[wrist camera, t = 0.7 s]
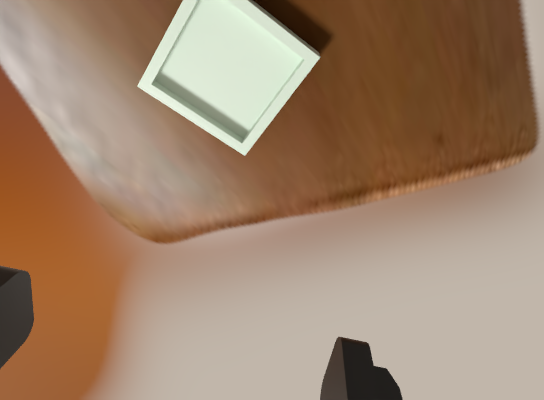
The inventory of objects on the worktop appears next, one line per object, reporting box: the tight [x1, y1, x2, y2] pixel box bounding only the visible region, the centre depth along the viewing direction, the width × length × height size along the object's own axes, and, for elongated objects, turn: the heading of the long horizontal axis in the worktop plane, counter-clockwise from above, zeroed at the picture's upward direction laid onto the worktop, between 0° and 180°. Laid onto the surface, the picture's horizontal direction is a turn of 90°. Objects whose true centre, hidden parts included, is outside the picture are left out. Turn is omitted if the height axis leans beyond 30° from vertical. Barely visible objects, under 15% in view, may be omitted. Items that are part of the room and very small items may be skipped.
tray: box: [137, 0, 320, 156], centre depth 30 cm, size 10×10×2 cm
